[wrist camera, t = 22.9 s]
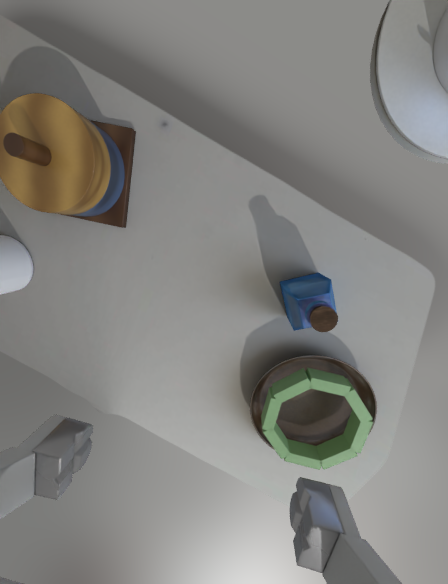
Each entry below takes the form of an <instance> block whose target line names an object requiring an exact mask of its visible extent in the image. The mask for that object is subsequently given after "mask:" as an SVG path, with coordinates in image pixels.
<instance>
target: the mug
mask: <svg viewBox="0 0 448 584" xmlns="http://www.w3.org/2000/svg"><path fill="white" fill-rule="evenodd" d="M32 275H33V262H32V259H31V256H30V254H29V252H28V251H27V249H26V248H25V247H24V246H23V245H22V244H21V243H20V242H19V241H17V240H16V239H14V238H12V237H9V236H6V235H0V294H5V293H9V292H13V291H17V290H20V289H22V288H24V287H26V286H27V285H28V283H29V282H30V280H31V278H32Z"/></svg>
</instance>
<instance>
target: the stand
mask: <svg viewBox="0 0 448 584" xmlns="http://www.w3.org/2000/svg"><path fill="white" fill-rule="evenodd" d="M135 134H136V132H135V131H134V130H133V129H132V128H127V127H122V126H116V125H111V124H106V123H101V122H96V121H90V120H88V119H87V118H85V117H84V116H83V115H81V114H80V113H78V112H77V111H76V110H74V109H73V108H71V107H70V106H69V105H67V104H66V103H64V102H63V101H61V100H59V99H57V98H55V97H53V96H50V95H46V94H39V93H34V94H27V95H23V96H20V97H18V98H16V99H15V100H13V101H11V102H10V103H9V104H8V105H7V106H6V107H5V108H4V109H3V111H2V112H1V114H0V177H1V179H2V181H3V183H4V184H5V186H6V187H7V189H8V190H9V191H10V192H11V193H12V195H13V196H15V197H16V198H17V199H18V200H19V201H20V202H22V203H23V204H25V205H26V206H28V207H30V208H32V209H35V210H38V211H41V212H47V213H56V214H61V215H66V216H71V217H75V218H80V219H85V220H90V221H94V222H99V223H104V224H108V225H113V226H118V227H124V228H126V221H127V212H128V202H129V192H130V183H131V173H132V163H133V153H134V144H135Z"/></svg>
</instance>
